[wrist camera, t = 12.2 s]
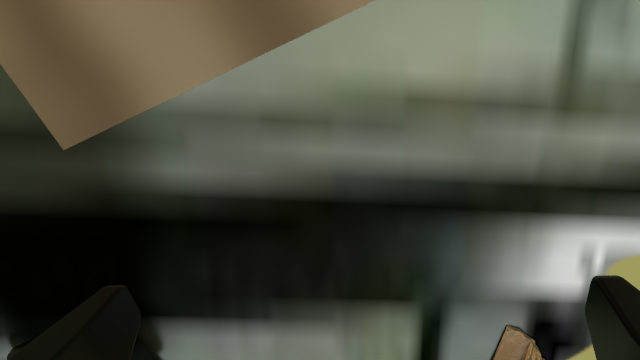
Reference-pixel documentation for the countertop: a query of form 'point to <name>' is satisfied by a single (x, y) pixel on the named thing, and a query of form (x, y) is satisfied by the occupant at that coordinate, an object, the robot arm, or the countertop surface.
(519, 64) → the countertop surface
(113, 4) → the walnut board
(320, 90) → the countertop surface
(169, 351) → the countertop surface
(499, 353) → the wooden fragment
